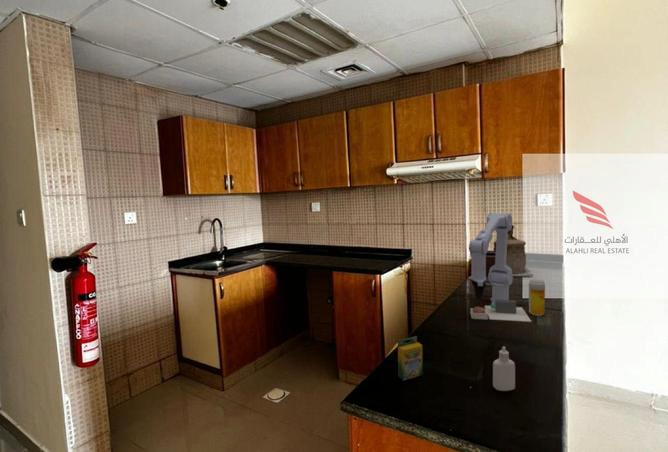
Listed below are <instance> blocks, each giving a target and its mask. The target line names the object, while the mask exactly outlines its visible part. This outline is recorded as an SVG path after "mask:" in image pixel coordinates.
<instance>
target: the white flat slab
mask: <svg viewBox="0 0 668 452" xmlns="http://www.w3.org/2000/svg"><path fill="white" fill-rule="evenodd" d="M484 309H486V311H487V314H488V320H491V321H494V320H495V321H508V322H509V321H510V322H525V323H531V322H532V320H531V319H530V317H529V316H528V314H527V313H526V311H525V310H524V308H523V307H522V306H521V307H520V306H516V314H512V313H496V310H495V309H491V305H484Z"/></svg>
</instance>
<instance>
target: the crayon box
mask: <svg viewBox="0 0 668 452" xmlns="http://www.w3.org/2000/svg"><path fill="white" fill-rule="evenodd" d="M406 341H408V342H406ZM397 365H398V366H397V372H398V374H397V375H398V378H400V379H401V381H407V380H411V379H414V378H418V377H421V376H423V374H424V372H423V368H424V367H423V344H421V343H420V342H418V336H417V335H416V336H411V337H407V338H403V339H400V340H399V339H398V340H397Z"/></svg>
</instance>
